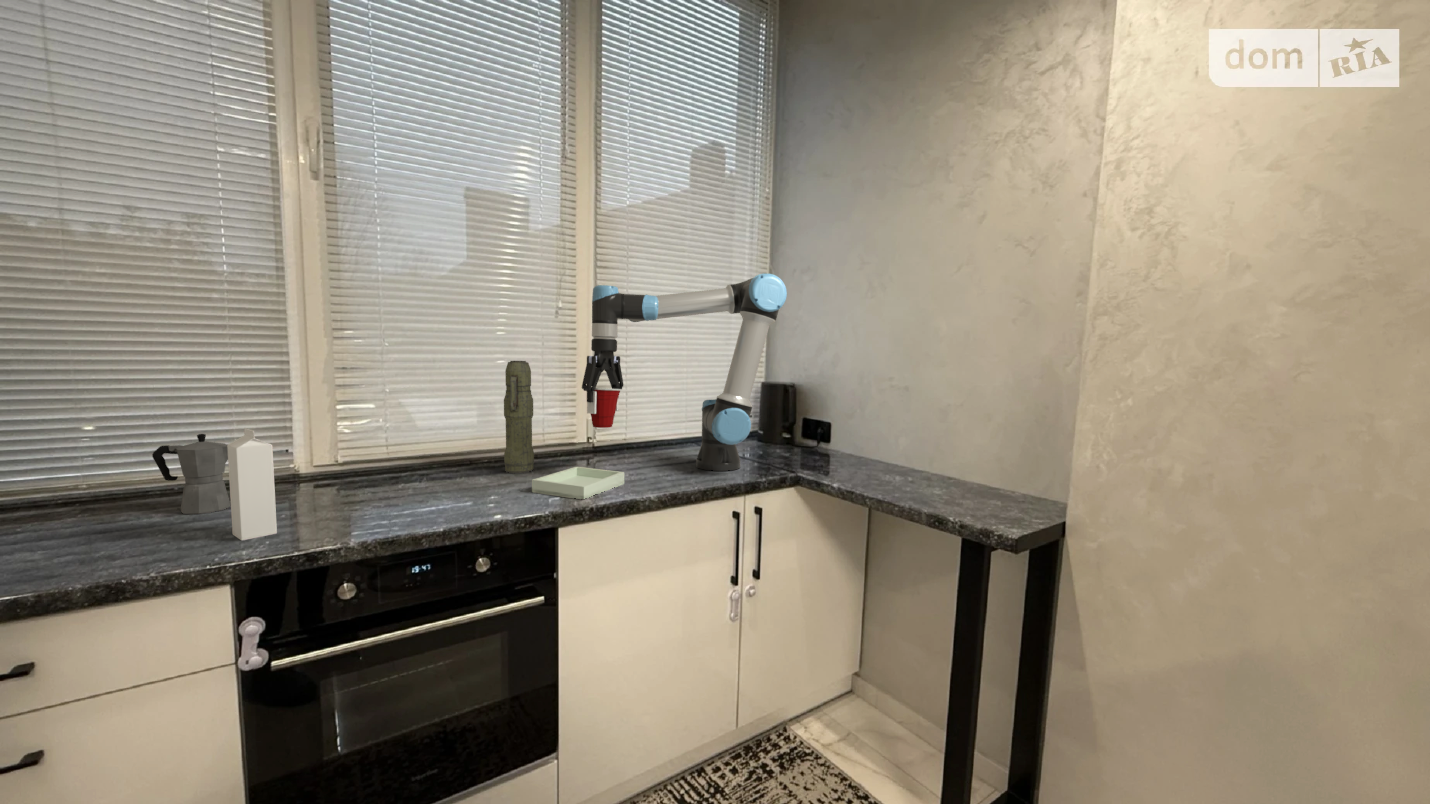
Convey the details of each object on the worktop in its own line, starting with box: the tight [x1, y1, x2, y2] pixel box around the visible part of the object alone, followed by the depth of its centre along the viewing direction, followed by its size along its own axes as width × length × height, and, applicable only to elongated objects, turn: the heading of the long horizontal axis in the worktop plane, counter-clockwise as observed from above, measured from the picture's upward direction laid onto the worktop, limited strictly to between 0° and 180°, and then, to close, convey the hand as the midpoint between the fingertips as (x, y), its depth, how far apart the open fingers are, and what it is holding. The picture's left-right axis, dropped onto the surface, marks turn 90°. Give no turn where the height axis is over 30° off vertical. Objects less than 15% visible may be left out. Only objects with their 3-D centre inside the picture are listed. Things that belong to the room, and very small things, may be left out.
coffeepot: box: [151, 433, 231, 516], centre depth 135 cm, size 15×9×18 cm, turn 116°
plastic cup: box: [590, 387, 622, 429], centre depth 174 cm, size 11×11×12 cm
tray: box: [531, 466, 625, 500], centre depth 164 cm, size 17×20×4 cm
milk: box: [227, 427, 278, 542], centre depth 119 cm, size 6×6×22 cm
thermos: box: [503, 360, 535, 474], centre depth 184 cm, size 9×12×35 cm
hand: (603, 411), depth 175 cm, fingers closed on plastic cup, 11 cm apart
